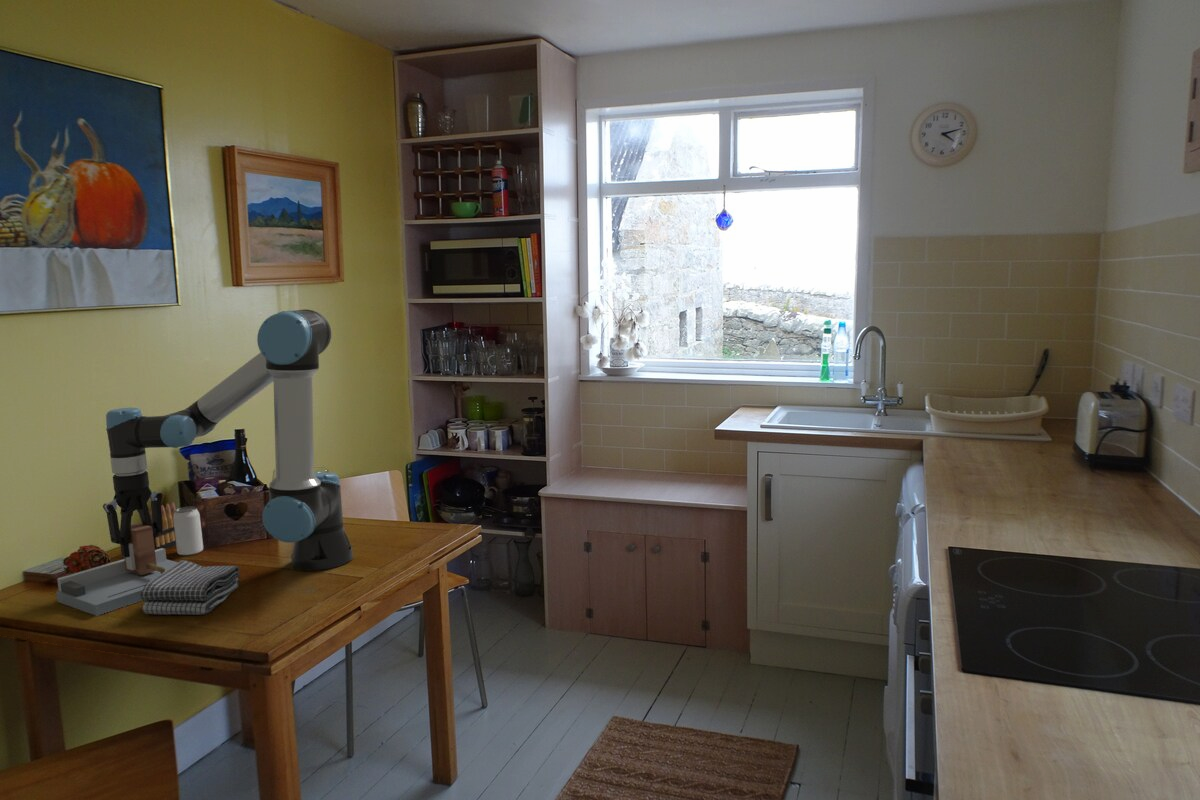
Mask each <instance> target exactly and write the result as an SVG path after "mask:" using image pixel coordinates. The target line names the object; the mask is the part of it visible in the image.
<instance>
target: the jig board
mask: <svg viewBox="0 0 1200 800" xmlns="http://www.w3.org/2000/svg"><path fill="white" fill-rule="evenodd" d="M166 553H167V551H166V548H165V549H163V548H161V549H157V550H155V556H156V564H157V566H160V567H164V568H165V571H167V570H169V569H170V568H172V567H173V566H175V565H176V564H178V562H179V561H174V560H170V559H167V554H166ZM160 574H161V572H159V571H154V572H150V573H147V574H144V575H138V574H135V573H132V572H128V571H126V569H125V560H124V558H122V559H119V560H117V561H113V562H109V563H108V564H106V565H102V566H99V567H95V568H92V569H88V570H85V571H82V572H78V573H76V572H75V573H73V574H71V573H70V574H69V575H65V576H61V577H58V578H57V579H56V580H57V587H58V588H57V589H58V590H57V591H56V593H55V594H56V601H57V603H60V604H63V605H65V606H68V607H72V608H74V609H76V610H79V611H82V612H85V613H87V614H90V615H94V616H95V615H96V616H95V617H98V615H99V616H101V614H102V615H104V613H105V614H107V612H108V613H110V611H111V612H113V610H114V611H116V609H117V610H119V609H118V608H120V609H122V608H121V607H123V608H125V606H126V607H128V606H127V605H129V606H131V605H130V604H132V605H134V603H135V604H137V602H138V603H140V601H141V602H143V599H141V592H142V591H143V589H144V586H145V585H146V584H147V583H148V582H149V581H151V580H153V579H154V578H156V577H157V576H159V575H160Z"/></svg>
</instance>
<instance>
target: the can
mask: <svg viewBox="0 0 1200 800" xmlns="http://www.w3.org/2000/svg"><path fill="white" fill-rule="evenodd" d="M174 512H175V513H174V516H173V520H174V530H175V538H176V545H175V547H176V553H177V554H178V555H179V556H182V557H183V556H184V557H185V556H193V555H197V554H199V553H202V551H203V550H204V541H203V532H202V531H203V530H202V525H201V524H202V523H201V515H200V512H199V510H198V507H197V506H183V507H178V508H176V510H174Z"/></svg>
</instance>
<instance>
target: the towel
mask: <svg viewBox="0 0 1200 800" xmlns="http://www.w3.org/2000/svg"><path fill="white" fill-rule="evenodd" d="M177 562H178V564H176V565H175V566H173V567H172V568H170V569H169V570H167V571H165V572H164V573H162V574H160V575H159V576H157V577H156V578H154V579H153V580H151V581H149V582H148V583H147V584H146V585H145V586H144V589H143V591H142V592H141V599H143V600H144V603H142V608H141V610H142V611H143V613H144V614H146V615H162V616H163V615H166V616H168V615H178V616H179V615H181V616H182V615H184V616H185V615H187V616H189V615H191V616H193V615H195V616H196V615H198V616H199V615H200V616H201V615H207V614H209V613H210V612H211V611H213V610H214V609H215V608H217V606H218V605H220V604H222V603H223V602H224V601H226V599H227V598H228V596H229V595H231V594H232V593H234V591H236V590H237V589H236V587H238V588H239V582H240V579H239V578H241V576H242V575H241V573H239V571H240V568H239V566H238V565H211V566H209V565H207V566H202V565H199V564H197V563H195V562H192V561H189V560H188V561H187V560H186V559H183V560H182V559H181V560H180V561H177ZM235 589H236V590H235ZM231 592H232V593H231Z"/></svg>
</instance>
